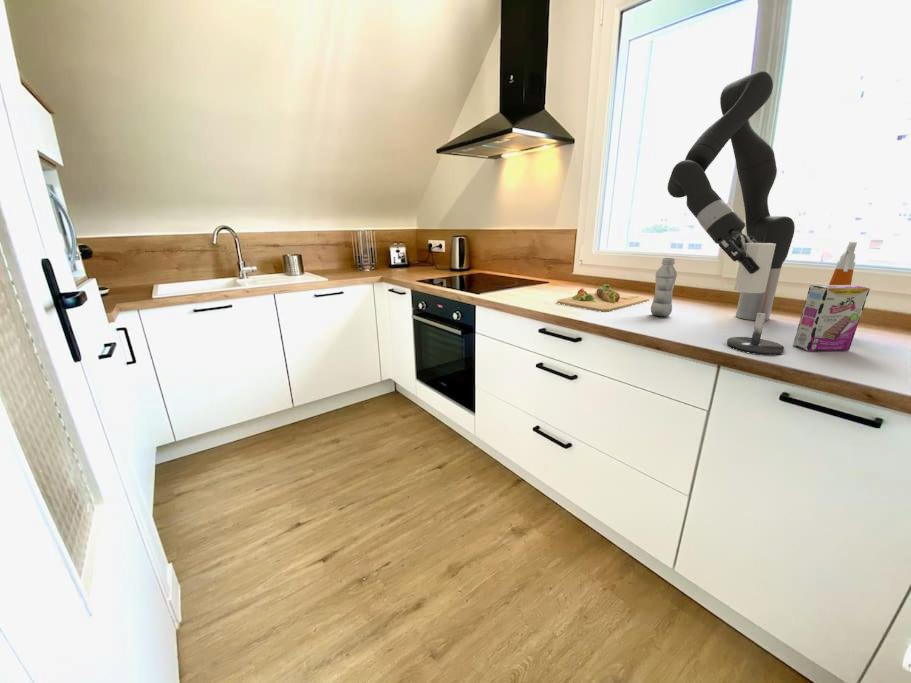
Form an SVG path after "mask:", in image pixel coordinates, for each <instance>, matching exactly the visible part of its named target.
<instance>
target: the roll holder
mask: <svg viewBox="0 0 911 683" xmlns="http://www.w3.org/2000/svg"><path fill="white" fill-rule="evenodd" d="M765 317H766V314H765V313H757V317H756V320H755V322H754V326H753V331H752V335H751V337H749V336H732V337H728V338H727V339H726V343H727V345H728V346H727V345H726V346H727V347H729V348H730V347H731V349H733V348H734V349H733V350H735V349H737V350H736V351H739V350H740V351H739V352H742V351H744V352H743V353H747V352H749V353H748V354H752V353H755V354H754V355H760V354H763V355H762V356H779V354H780V355H782V354H784V350H785V346H784V345H783V344H781V343H778V342H775V341H772V340H768V339H763V338H762V334H763V329H764V325H765V321H766V320H765Z"/></svg>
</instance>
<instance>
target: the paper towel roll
mask: <svg viewBox="0 0 911 683" xmlns="http://www.w3.org/2000/svg"><path fill="white" fill-rule="evenodd" d="M745 245H746V247H747V249H746V252H747V253H748V254H749V255H750V257H751V258H752V259H753V260H754V262H755V263H756V264H757V265H758V266H759V267H760V269H759V270H758V271H756V272H755V273H753V274H750V273H749V272H748V271H747V270H746V268H745V267H744V266H743V265H742V264H741V263H739V262H738V268H737V273H736V278H735V284H734V288H733V290H734V291H736V292H739V293H741V292H745V293H764V292H765V290H766V286H767V281H768V277H769V273H770V268H771V264H772V259H773V255H774V251H775V246H776V244H773V243H745ZM748 258H749V257H748Z"/></svg>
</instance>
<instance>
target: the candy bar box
mask: <svg viewBox="0 0 911 683" xmlns="http://www.w3.org/2000/svg"><path fill="white" fill-rule="evenodd" d="M870 290H871V288H869V287H865V286H859V285H853V284H851V285H829V284H814V285H813V284H811V285H809V289H808V292H807V295H806V298H805V302H804V305H803V308H802V309H803V310H802V312H801V316H800V318H799V319H800V320H799V323H798V327H797V329H796V333H795V337H794V339H793V340H794V341H793V344H792V346H793V347H795V348H798V349H800V350H803V351H806V352H838V351H839V352H840V351H841V352H843V351H847V352H849V351H850V349H851V346H852V343H853V340H854V338H855V334H856V331H857V328H858V326H859V323H860V319H861V316H862V313H863V311H864V308H865V304H866V303H867V299H868V296H869V293H870Z"/></svg>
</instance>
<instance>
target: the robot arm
mask: <svg viewBox="0 0 911 683" xmlns="http://www.w3.org/2000/svg"><path fill="white" fill-rule="evenodd" d="M773 81H774V80H773V78H772V76H771V74H770V73H769V72H767V71H764V70H763V71H756V72H753V73H750V74H747V75H746V76H743V77H741V78H739V79H737V80H735V81H732V82H730V83H729V84H727V85H726V86H725V87H724V88H723V89H722V91H721V93H720V98H719V102H720V104H719V105H720V110H721V114H722V116H720V118H719V119H717V120H716V121H715V122H714V123H713V124H711V125H710V126H709V127H708V128H707V129H706V130H705V131H703V133H702V134H701V135H700V136H699V137H698V139H696V141H695V143H694V144H693V145H692V146H691V147H690V149H689V150H688V152H687V154H686V156H685V159H683V160H680V161H679V162H678V163H676V165H674V167H673V168H672V171H671V174H670V177H669V179H668V183H667V191H668V194H669V195H670V196H671V197H673V198H684V197H686V207H687V209H688V210H689V211H690V212H691V213H692V215H693V216H694V218H695V219H696V220H697V222H698V223H699V225H700V226H701V227H702V229H703V230H704V231H705V233H706V234H707V235H708V236H709V237H710V238H711V239H712V240H713V242H714V243H715V244H716V245H717V244H718V246H719V247H720V248H721V250H723V252H724V253H725V254H726V255H727V257H729V258H730V259H731V260H732V261H733V262H736V261H737V263H738V264H739V263H741V264H742V265H743V266H744V267H745V268H746V270H747V271H748V272H749V273H750V274H753V273H755V272H756V271H758V270H759V269H760V267H759V266H758V265H757V264H756V263H755V262H754V260H753V259H752V258H751V257H750V255H749V254H748V253H747V252H746V249H747V247H746V245H745V243H773V244H776V246H775V251H774V255H773V259H772V264H771V268H770V273H769V277H768V281H767V286H766V290H765V292H764V293H745V292H739V293H740V294H739V299H738V303H737V307H736V312H735V317H737V318H740V319H744V320H749V321H756V317H757V313H765V314H766V317H765V321H768V320H770V316H771V313H772V308H773V305H774V299H775V296H776V292H777V287H778V283H779V280H780V274H781V270H782V267H783V264H784V262H785V261H786V260H787V257H788V256H789V250H790V248H791V244H792V242H793V238H794V235H795V226H796V225H795V222H794V220H793V219H792V218H791V217H789V216H786V215H785V216H783V215H781V216H779V215H778V216H776V215H773V216H771V214H770V210H769V205H768V204H769V203H768V201H769V200H768V199H769V195H770V193H771V190H772V187H773V186H774V184H775V181H776V177H777V173H778V170H777V163H776V157H775V156H776V155H775V151H774V149H773V147H772V146H771V145H770V144H769V143H768V142H767V141H766V140H765V139H764V138H763V137H762V136H760V135H759V133H758V132H756V131H755V129H754V128H753V127H752V125H751V122H750V119H751V118H752V117H753V115H754V114H756V113H757V112H758V110H760V109H761V108H762V107H764V105H765V104H766V103H767V102H768V100H769V99H770V97H771V96H772V93H773V89H774V82H773ZM729 141H731V146H732V150H733V155H734V159H735V165H736V171H737V175H738V176H737V177H738V180H739V185H740V188H741V189H740V190H741V194H742V201H743V207H744V215H745V216H744V217H745V218H744V219H745V221H744V220H743V219H742V218H741V217H740V216H739V215H738V213H737V212H735V210H734V209H733V208H732V207H731V206H730V205H729V204H728V203H727V202H725V201H724V200H723V199H722V198H721V197H720V196H719V194H718V193H717V192H716V191H715V190H714V189H713V187H712V185H711V182H710V180H709V178H708V176H707V174H706V171H707V169H708V168H709V166H710V165H711V164H712V163H713V162H714V160H715V159H716V158H717V156H718V155H719V154H720V152H721V151H722V149H723V148H725V145H727V143H728V142H729ZM744 229H745V231H746V234H745V233H743V230H744ZM748 257H749V258H748Z"/></svg>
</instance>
